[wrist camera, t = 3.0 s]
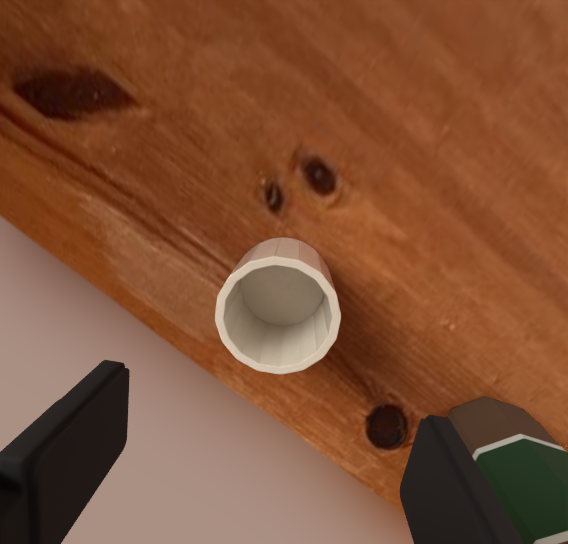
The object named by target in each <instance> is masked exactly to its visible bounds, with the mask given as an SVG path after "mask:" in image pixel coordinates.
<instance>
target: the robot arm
mask: <svg viewBox="0 0 568 544" xmlns="http://www.w3.org/2000/svg"><path fill="white" fill-rule="evenodd" d="M128 397H129V369H128V368H125V365H124V363H121V362H115V361H109V360H104V361H102V362H101V363H100V364H99V365H98V366H97V367H96V368H95V369H94V370H92V372H90V373H89V374H88V375H87V376H86V377H85V378H83V379H82V380H81V381H80V382H79V383H78V384H77V385H76V386H75V387H74V388H72V389H71V390H70V391H69V392H68V393H67V394H66V395H65V396H64V397H63V398H62V399H60V400H58V401H57V402H55V403H54V404H53V405H52V406H51V407H50V408H49V409H48V410H46V411H45V412H44V413H43V414H42V415H41V416H40V417H39V418H38V419H37V420H35V421H34V422H33V423H32V424H31V425H30V426H29V427H28V428H27V429H25V430H24V431H23V432H22V433H21V434H20V435H19V436H18V437H16V438H15V439H14V440H13V441H12V442H11V443H10V444H9V445H8V446H6V448H4V449H3V450H2V451H1V452H0V544H61V542H62V541H63V539H64V538H65V536H66V535H67V533H68V532H69V530H70V529H71V527H72V526H73V524H74V523H75V521H76V520H77V518H78V517H79V515H80V514H81V512H82V511H83V509H84V508H85V506H86V505H87V503H88V502H89V500H90V499H91V497H92V496H93V494H94V493H95V491H96V490H97V488H98V487H99V485H100V484H101V482H102V481H103V479H104V478H105V476H106V475H107V473H108V472H109V470H110V469H111V467H112V466H113V464H114V463H115V461H116V460H117V458H118V457H119V455H120V454H121V452H122V451H123V449H124V447H125V444H126V440H127V423H128ZM400 498H401V502H402V505H403V508H404V511H405V515H406V518H407V521H408V525H409V528H410V531H411V535H412V538H413V541H414V544H525V543H524V541H523V540H522V538H521V536H520V535H519V533H518V531H517V530H516V528H515V526H514V525H513V523H512V521H511V520H510V518H509V516H508V515H507V513H506V512H505V510H504V508H503V507H502V505H501V503H500V502H499V500H498V498H497V497H496V495H495V493H494V492H493V490H492V488H491V487H490V485H489V483H488V482H487V480H486V478H485V477H484V475H483V473H482V472H481V470H480V469H479V467H478V465H477V464H476V462H475V460H474V459H473V457H472V455H471V454H470V452H469V450H468V449H467V447H466V445H465V444H464V442H463V440H462V439H461V437H460V435H459V434H458V432H457V430H456V429H455V427H454V426H453V424H452V422H451V421H450V419H449V418H446V417H440V416H434V415H428V416H427V417H426V419H421V421H420V424H419V427H418V430H417V433H416V437H415V440H414V443H413V446H412V450H411V453H410V456H409V459H408V463H407V466H406V469H405V472H404V475H403V479H402V482H401V486H400Z"/></svg>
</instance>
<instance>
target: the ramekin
mask: <svg viewBox="0 0 568 544" xmlns="http://www.w3.org/2000/svg"><path fill="white" fill-rule="evenodd" d="M340 321H341V312H340V308H339V303H338V298H337V294H336V291H335V288H334V285H333V281H332V278H331V275H330V272H329V269H328V266H327V265H326V263H325V262H324V260H323V258H322V257H321V256H320V255H319V253H318V252H317V251H316V250H315V249H313V248H312V247H311V246H309V245H308V244H306V243H304V242H302V241H299V240H296V239H292V238H273V239H269V240H266V241H263V242H261V243H259V244H257V245H256V246H254V247H253V248H252V249H251V250H249V252H247V253H246V254H245V255H244V256H243V258H242V259H241V261H240V262H239V263H238V265H237V266H236V268H235V269H234V270H233V272H232V273H231V274H230V276H229V277H228V279H227V281H226V282H225V284H224V286H223V287H222V289H221V291H220V293H219V294H218V297H217V303H216V312H215V322H216V325H217V328H218V331H219V335H220V338H221V341H222V342H223V344H224V345H225V346H226V347H227V348H228V350H229V351H230V352H231V353H232V354H233V356H234V357H235V358H236V359H237V360H239V361H241V362H242V363H244V364H246V365H248V366H249V367H251V368H253V369H255V370H257V371H262V372H268V373H274V374H286V373H291V372H296V371H301V370H304V369H306V368H307V367H309V366H311V365H312V364H314V363H315V362H317V361H319V360H320V359H322V358H323V357H324V356H325V354H326V353H327V352H328V350H329V349H330V347H331V346H332V345H333V343H334V342H335V341H336V339H337V335H338V330H339V325H340Z"/></svg>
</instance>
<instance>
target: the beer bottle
mask: <svg viewBox="0 0 568 544" xmlns="http://www.w3.org/2000/svg"><path fill="white" fill-rule="evenodd" d="M447 418H449V419H450V421H451V422H452V424H453V426H454V427H455V429H456V430H457V432H458V434H459V435H460V437H461V439H462V440H463V442H464V444H465V445H466V447H467V449H468V450H469V452H470V454H471V455H472V457H473V459H474V460H475V462H476V464H477V465H478V467H479V469H480V470H481V472H482V473H483V475H484V477H485V478H486V480H487V482H488V483H489V485H490V487H491V488H492V490H493V492H494V493H495V495H496V497H497V498H498V500H499V502H500V503H501V505H502V507H503V508H504V510H505V512H506V513H507V515H508V516H509V518H510V520H511V521H512V523H513V525H514V526H515V528H516V530H517V531H518V533H519V535H520V536H521V538H522V540H523V541H524V543H525V544H568V453H567V452H566V451H565V450H564V449H563V448H562V447H561V446H560V445H559V444H558V443H557V442H556V441H555V440H554V439H553V438H552V436H551V435H550V434H549V433H548V432H547V431H546V430H545V429H544V428H543V427H542V426H541V425H540V424H539V423H538V422H537V421H536V420H534V419H533V418H532V417H531V416H530V415H529V414H528V413H527V412H526V411H525V410H523V409H522V408H519V407H516V406H513V405H510V404H507V403H504V402H501V401H498V400H495V399H491V398H488V397H482V398H480V399H477V400H474V401H472V402H469V403H466V404H464V405H461V406H458V407H456V408H453V409H451V411H450V413H449V414H448V416H447Z"/></svg>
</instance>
